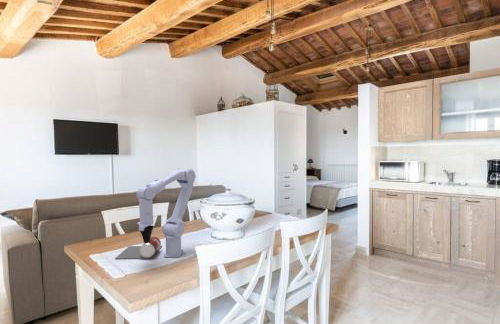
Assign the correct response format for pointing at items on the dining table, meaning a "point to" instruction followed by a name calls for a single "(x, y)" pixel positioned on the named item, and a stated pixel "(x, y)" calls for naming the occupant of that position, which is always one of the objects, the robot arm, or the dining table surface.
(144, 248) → the soda can
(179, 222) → the robot arm
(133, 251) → the mat
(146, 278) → the dining table surface
